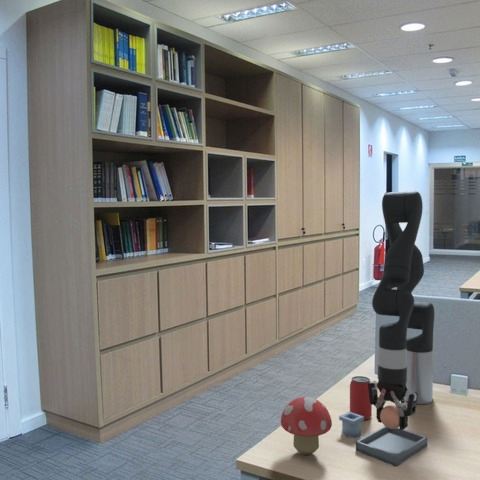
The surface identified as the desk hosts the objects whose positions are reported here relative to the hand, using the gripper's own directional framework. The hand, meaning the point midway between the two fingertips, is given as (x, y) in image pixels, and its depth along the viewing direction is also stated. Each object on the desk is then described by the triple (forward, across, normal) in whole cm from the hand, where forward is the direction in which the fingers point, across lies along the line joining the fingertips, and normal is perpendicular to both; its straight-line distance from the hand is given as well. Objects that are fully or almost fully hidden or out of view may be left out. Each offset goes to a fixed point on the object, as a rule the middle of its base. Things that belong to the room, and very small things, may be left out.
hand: (391, 424), depth 140 cm
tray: (+7, 0, 0) cm, 7 cm away
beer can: (+7, +18, -12) cm, 23 cm away
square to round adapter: (+6, +13, 0) cm, 15 cm away
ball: (+1, 0, 0) cm, 1 cm away
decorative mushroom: (+7, +14, +19) cm, 24 cm away
